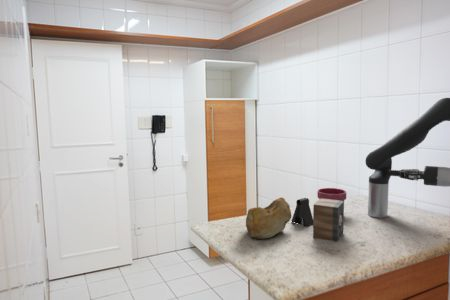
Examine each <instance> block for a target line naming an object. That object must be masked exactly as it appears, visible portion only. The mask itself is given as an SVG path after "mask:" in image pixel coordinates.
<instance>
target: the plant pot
mask: <svg viewBox="0 0 450 300" xmlns="http://www.w3.org/2000/svg"><path fill="white" fill-rule="evenodd" d="M316 193H317V194H316V195H317V198H318V200H320V199H321V198H322V199H331V200H340V201H344V202H345V200H347V191H346V190H345V189H342V188H337V187H336V188H335V187H334V188H333V187H326V188H319V189H318V190H317V192H316Z"/></svg>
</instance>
